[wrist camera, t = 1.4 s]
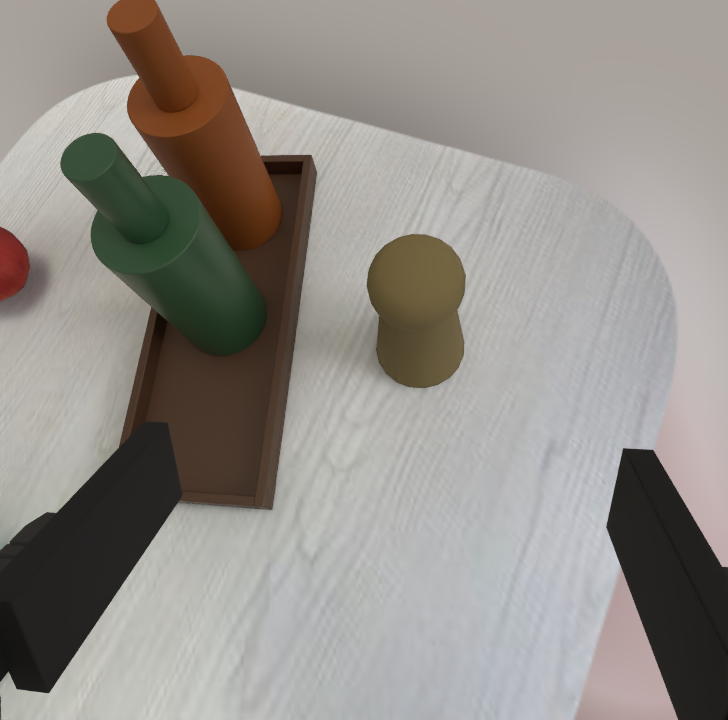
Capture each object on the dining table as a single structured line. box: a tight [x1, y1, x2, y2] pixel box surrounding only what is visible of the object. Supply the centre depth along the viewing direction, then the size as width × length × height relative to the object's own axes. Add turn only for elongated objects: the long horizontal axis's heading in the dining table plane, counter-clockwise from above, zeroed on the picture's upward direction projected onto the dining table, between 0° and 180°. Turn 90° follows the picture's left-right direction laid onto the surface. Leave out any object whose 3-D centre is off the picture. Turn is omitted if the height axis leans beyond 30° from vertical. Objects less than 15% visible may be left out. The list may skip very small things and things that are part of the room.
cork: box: [367, 234, 466, 388], centre depth 32 cm, size 6×6×11 cm
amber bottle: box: [107, 0, 282, 251], centre depth 34 cm, size 6×6×17 cm
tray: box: [119, 155, 317, 510], centre depth 39 cm, size 10×26×2 cm, turn 175°
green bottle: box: [60, 133, 267, 356], centre depth 32 cm, size 6×6×17 cm
